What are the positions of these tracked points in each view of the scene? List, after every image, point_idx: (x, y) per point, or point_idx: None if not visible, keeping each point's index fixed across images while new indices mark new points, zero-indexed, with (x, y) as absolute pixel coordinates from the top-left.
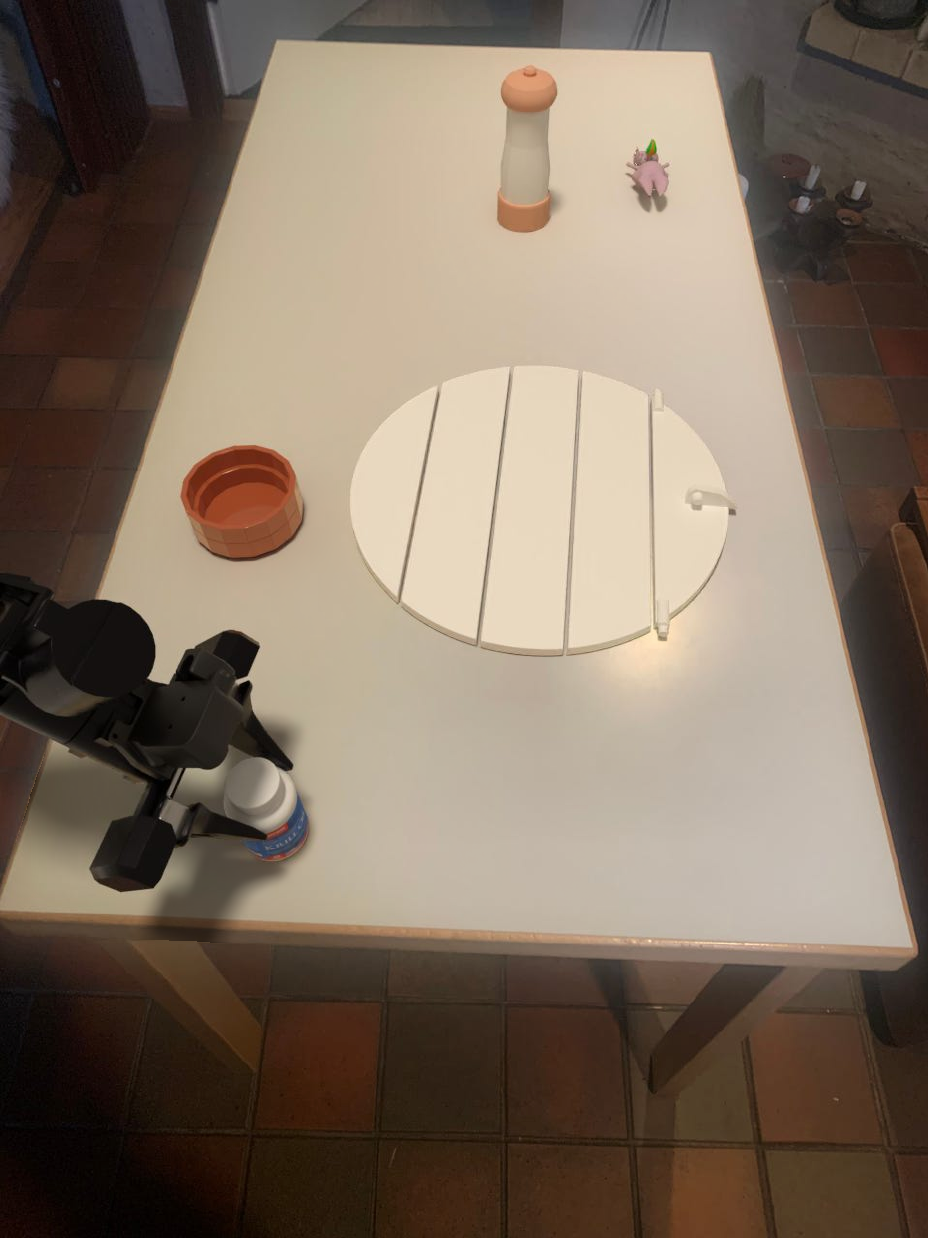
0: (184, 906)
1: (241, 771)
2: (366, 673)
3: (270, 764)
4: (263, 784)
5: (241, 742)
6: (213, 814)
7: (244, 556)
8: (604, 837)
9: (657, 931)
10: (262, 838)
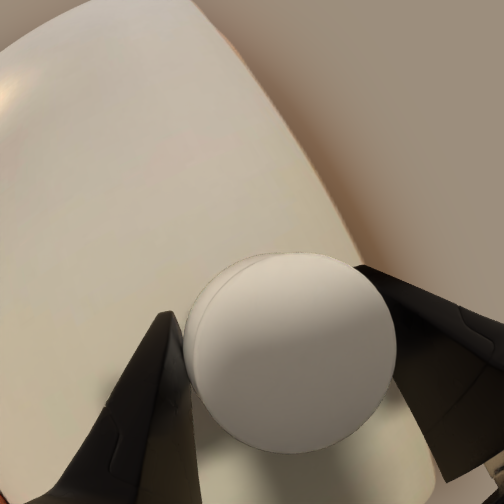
0: None
1: (286, 420)
2: (12, 326)
3: (205, 336)
4: (292, 314)
5: (180, 474)
6: (495, 357)
7: (1, 501)
8: (134, 44)
9: (196, 12)
10: (369, 268)
